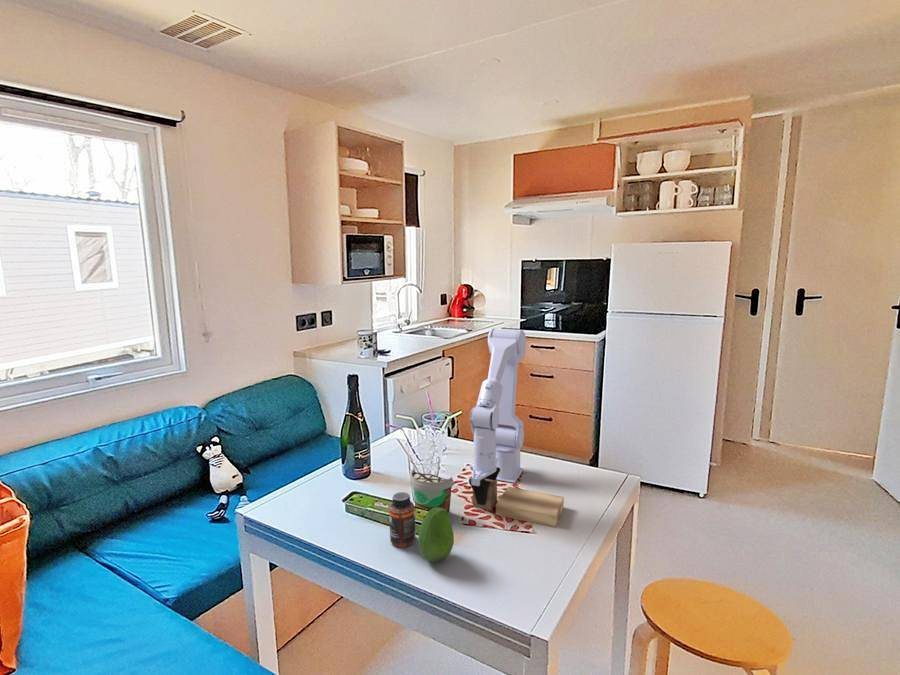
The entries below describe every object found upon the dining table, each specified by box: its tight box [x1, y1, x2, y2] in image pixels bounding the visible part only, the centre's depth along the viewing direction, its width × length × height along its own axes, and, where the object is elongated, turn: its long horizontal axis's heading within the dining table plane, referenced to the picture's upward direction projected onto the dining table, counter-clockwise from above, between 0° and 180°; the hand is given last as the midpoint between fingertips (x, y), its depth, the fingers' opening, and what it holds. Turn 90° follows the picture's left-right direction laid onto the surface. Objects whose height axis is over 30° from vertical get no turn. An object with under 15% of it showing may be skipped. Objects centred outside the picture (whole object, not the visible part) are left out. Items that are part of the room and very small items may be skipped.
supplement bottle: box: [388, 491, 417, 548], centre depth 114 cm, size 6×6×11 cm
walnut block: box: [472, 478, 498, 511], centre depth 131 cm, size 5×5×6 cm
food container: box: [408, 468, 455, 514], centre depth 126 cm, size 12×6×10 cm, turn 62°
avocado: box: [417, 508, 455, 563], centre depth 107 cm, size 8×8×12 cm
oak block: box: [495, 486, 565, 528], centre depth 127 cm, size 10×15×3 cm, turn 66°
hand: (485, 499), depth 131 cm, fingers closed on walnut block, 5 cm apart
